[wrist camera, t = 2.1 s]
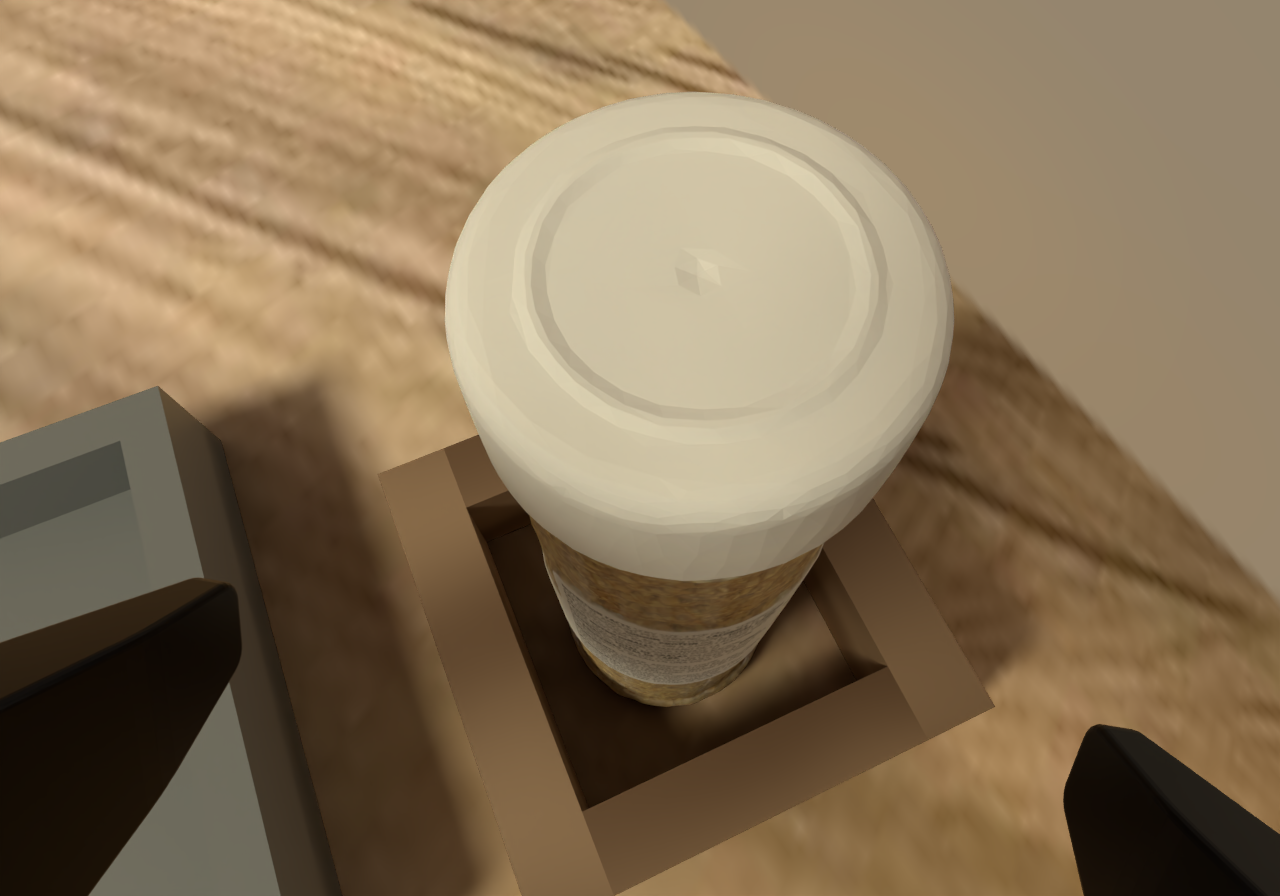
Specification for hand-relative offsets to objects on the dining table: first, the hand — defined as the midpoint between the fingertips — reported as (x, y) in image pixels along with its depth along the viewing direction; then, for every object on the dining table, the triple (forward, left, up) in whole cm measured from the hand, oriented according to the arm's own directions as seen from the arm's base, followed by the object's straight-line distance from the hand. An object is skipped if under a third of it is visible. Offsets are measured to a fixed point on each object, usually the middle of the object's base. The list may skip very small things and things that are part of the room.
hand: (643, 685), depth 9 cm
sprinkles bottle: (+3, -2, -11) cm, 11 cm away
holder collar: (+3, -2, -10) cm, 11 cm away
